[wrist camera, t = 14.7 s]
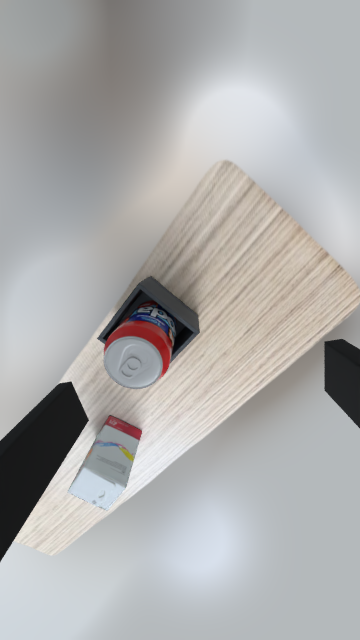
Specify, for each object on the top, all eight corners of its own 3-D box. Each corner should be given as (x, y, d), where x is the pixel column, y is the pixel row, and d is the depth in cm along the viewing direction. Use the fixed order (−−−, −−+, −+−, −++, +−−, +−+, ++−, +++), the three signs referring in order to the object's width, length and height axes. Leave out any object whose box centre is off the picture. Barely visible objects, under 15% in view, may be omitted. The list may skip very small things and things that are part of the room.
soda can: (125, 323, 37) (84, 369, 22) (150, 289, 34) (121, 316, 20) (161, 347, 38) (142, 406, 24) (186, 316, 36) (183, 360, 21)
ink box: (109, 414, 45) (82, 467, 34) (143, 430, 46) (127, 488, 35) (94, 438, 48) (64, 495, 37) (127, 453, 49) (107, 513, 38)
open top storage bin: (150, 275, 35) (139, 283, 27) (198, 315, 36) (199, 332, 29) (116, 320, 38) (96, 338, 30) (161, 355, 40) (154, 380, 32)
